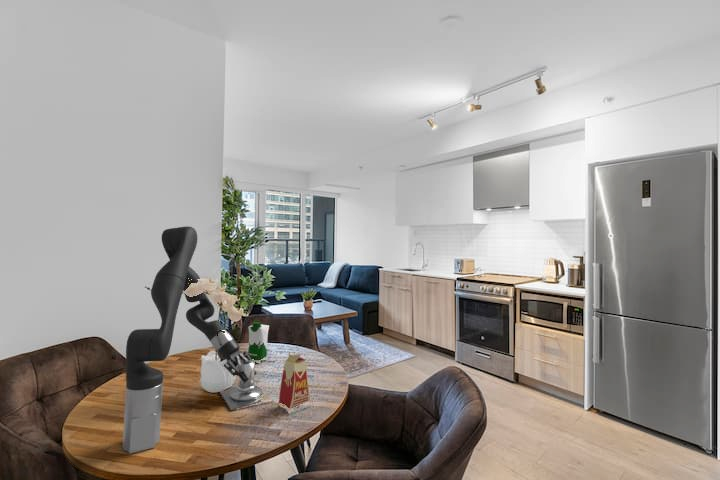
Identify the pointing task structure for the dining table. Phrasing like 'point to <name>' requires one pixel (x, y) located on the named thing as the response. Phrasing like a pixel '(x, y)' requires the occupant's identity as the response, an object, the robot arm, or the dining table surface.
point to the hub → (249, 371)
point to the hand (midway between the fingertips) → (250, 377)
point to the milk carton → (294, 382)
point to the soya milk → (258, 341)
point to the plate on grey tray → (241, 397)
